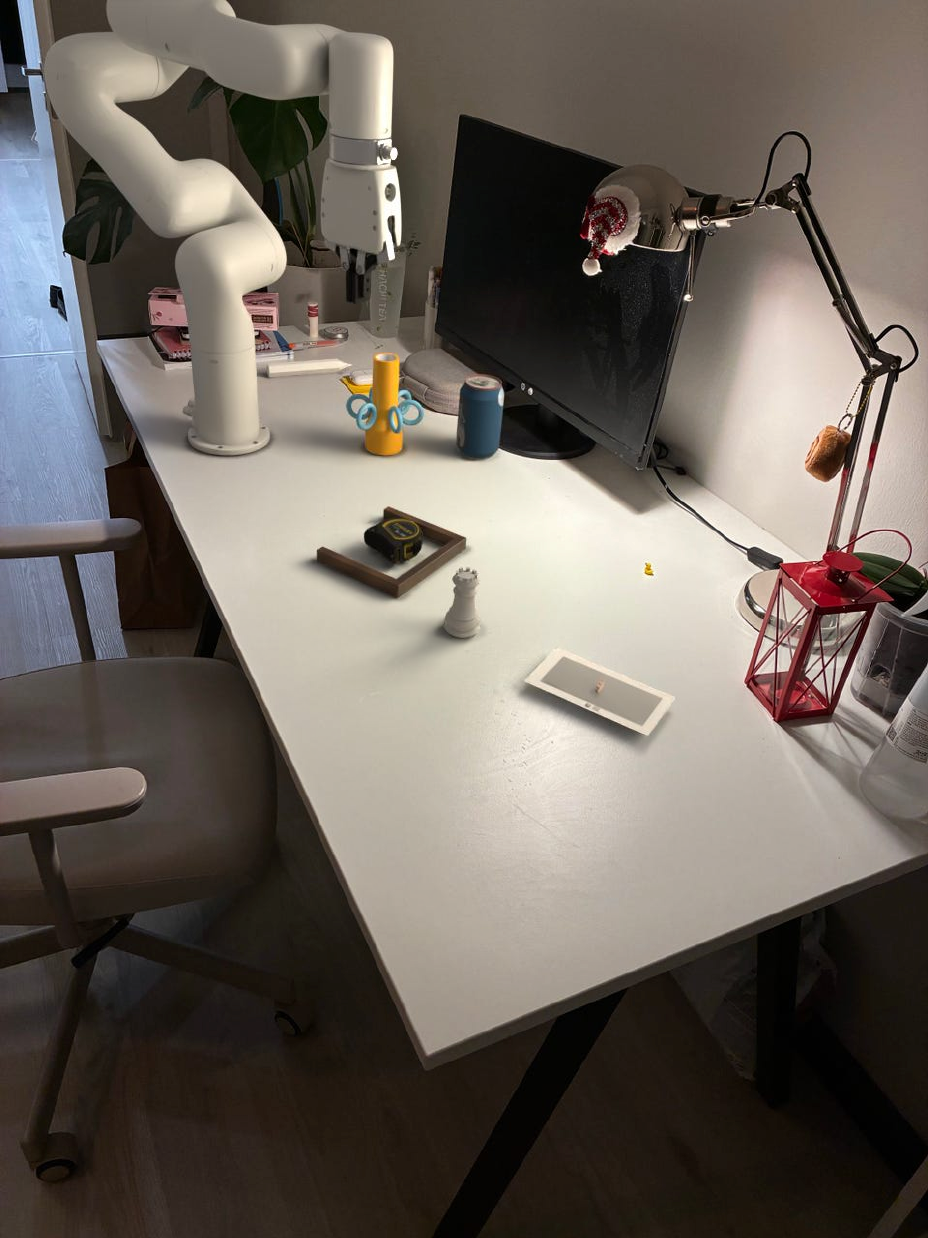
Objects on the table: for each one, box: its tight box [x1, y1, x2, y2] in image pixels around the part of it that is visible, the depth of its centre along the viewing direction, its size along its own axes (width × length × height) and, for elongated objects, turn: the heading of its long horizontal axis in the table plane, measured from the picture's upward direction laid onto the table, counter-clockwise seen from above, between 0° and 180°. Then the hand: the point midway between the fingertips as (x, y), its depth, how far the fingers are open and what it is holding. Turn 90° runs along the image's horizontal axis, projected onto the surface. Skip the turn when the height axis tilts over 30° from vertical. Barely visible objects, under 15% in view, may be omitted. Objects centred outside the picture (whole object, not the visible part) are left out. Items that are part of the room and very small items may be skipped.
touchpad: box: [523, 646, 677, 737], centre depth 107 cm, size 8×15×2 cm, turn 58°
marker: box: [266, 358, 353, 378], centre depth 177 cm, size 3×2×16 cm
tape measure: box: [363, 518, 424, 565], centre depth 128 cm, size 7×7×4 cm
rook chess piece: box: [443, 566, 481, 639], centre depth 114 cm, size 4×4×8 cm
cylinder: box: [345, 352, 425, 456], centre depth 150 cm, size 12×10×15 cm
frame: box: [316, 505, 467, 598], centre depth 128 cm, size 13×15×2 cm
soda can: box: [455, 373, 505, 461], centre depth 153 cm, size 7×7×12 cm
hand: (358, 300), depth 129 cm, fingers closed
